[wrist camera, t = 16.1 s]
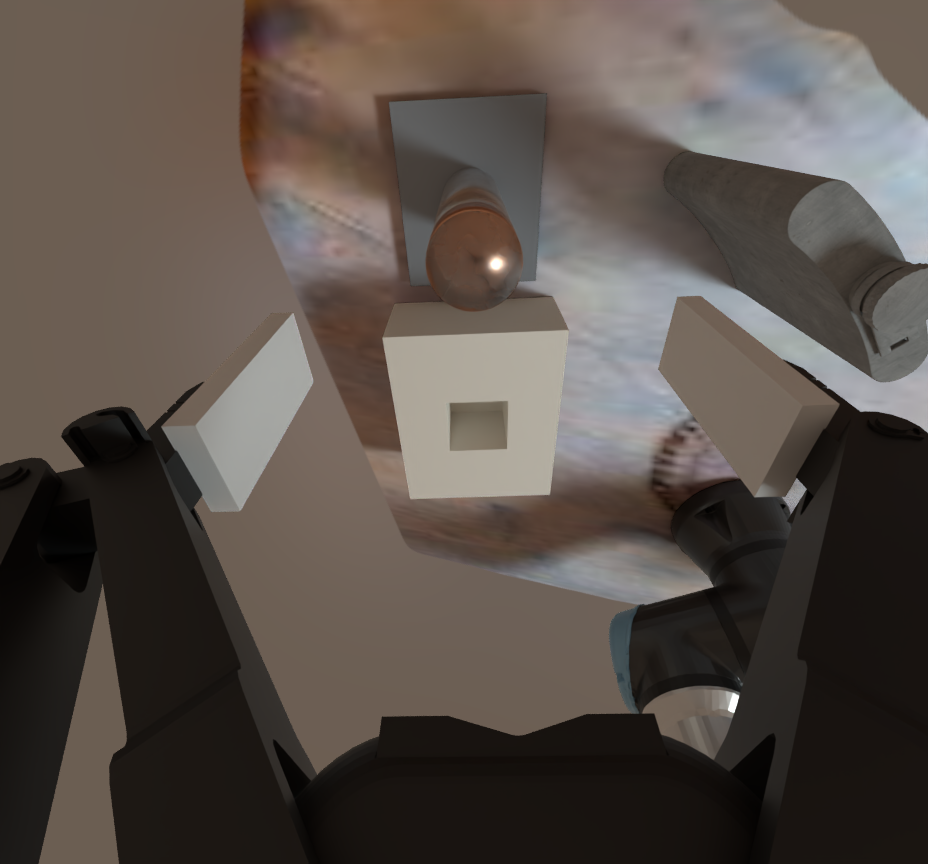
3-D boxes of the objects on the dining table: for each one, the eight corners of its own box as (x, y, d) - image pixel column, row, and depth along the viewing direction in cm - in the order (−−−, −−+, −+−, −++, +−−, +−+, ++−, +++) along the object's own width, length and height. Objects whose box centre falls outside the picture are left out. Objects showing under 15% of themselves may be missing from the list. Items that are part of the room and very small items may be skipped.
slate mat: (534, 277, 41) (535, 280, 40) (411, 282, 41) (410, 286, 41) (544, 93, 33) (546, 93, 32) (390, 102, 33) (388, 101, 32)
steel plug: (499, 232, 38) (520, 309, 23) (443, 234, 38) (430, 313, 23) (500, 165, 35) (525, 208, 20) (439, 168, 35) (420, 213, 20)
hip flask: (656, 175, 36) (807, 228, 20) (700, 132, 34) (904, 152, 18) (744, 298, 42) (911, 412, 27) (785, 267, 41) (991, 369, 25)
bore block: (539, 449, 54) (549, 494, 48) (416, 453, 55) (410, 499, 49) (553, 296, 42) (568, 330, 36) (394, 303, 43) (382, 337, 36)
